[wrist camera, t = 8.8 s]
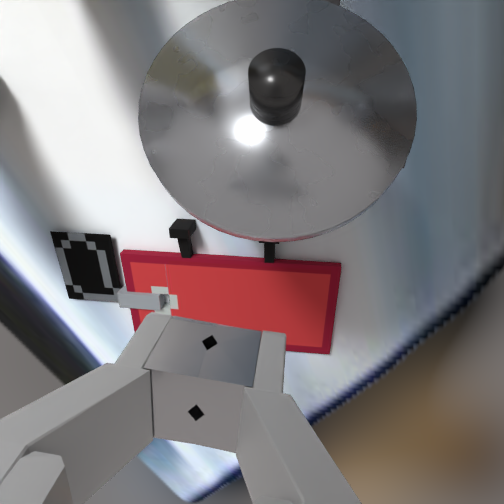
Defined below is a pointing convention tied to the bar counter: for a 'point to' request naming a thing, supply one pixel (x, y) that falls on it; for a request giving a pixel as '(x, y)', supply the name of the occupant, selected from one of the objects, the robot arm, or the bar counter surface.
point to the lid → (277, 117)
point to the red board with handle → (207, 286)
